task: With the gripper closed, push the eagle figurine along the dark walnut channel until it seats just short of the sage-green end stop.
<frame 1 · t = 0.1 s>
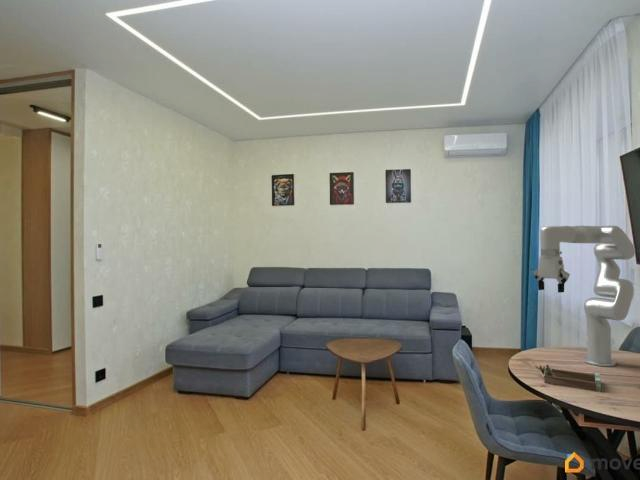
hand: (550, 291, 178), 37 cm above the table, tool pointing down, fingers open, 9 cm apart
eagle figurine: (548, 379, 170), on the table, touching walnut guide
walnut guide: (569, 382, 166), on the table
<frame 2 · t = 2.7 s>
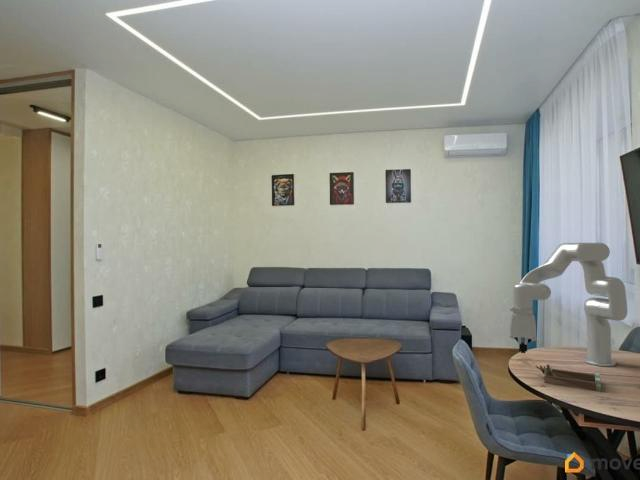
hand: (523, 352, 175), 10 cm above the table, tool pointing down, fingers closed
nothing on the table moved.
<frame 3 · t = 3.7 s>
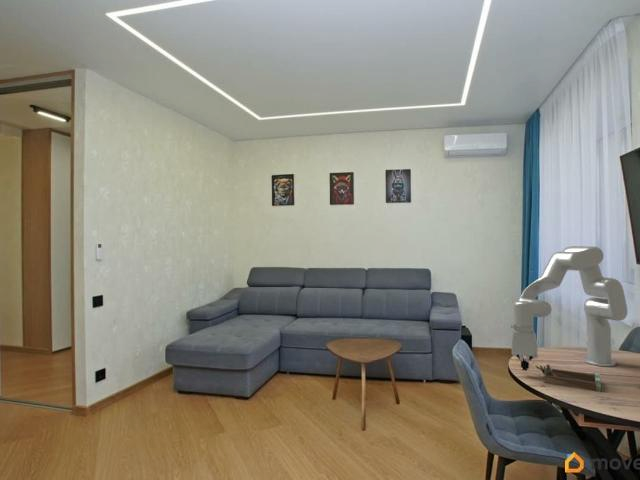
hand: (524, 369, 175), 3 cm above the table, tool pointing down, fingers closed
nothing on the table moved.
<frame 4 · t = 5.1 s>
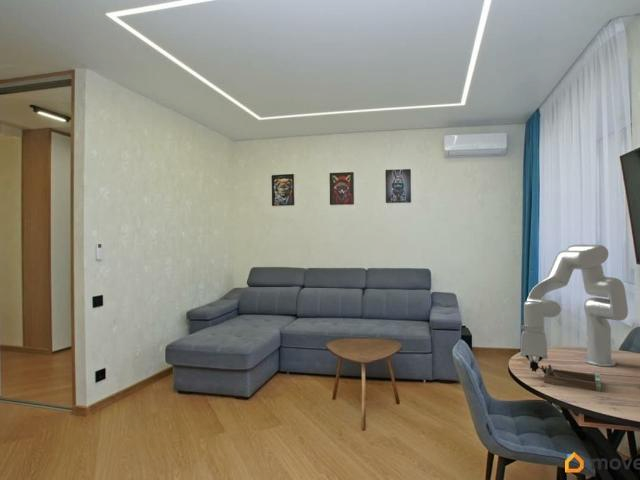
hand: (534, 370, 173), 3 cm above the table, tool pointing down, fingers closed
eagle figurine: (550, 379, 170), on the table, touching gripper, walnut guide
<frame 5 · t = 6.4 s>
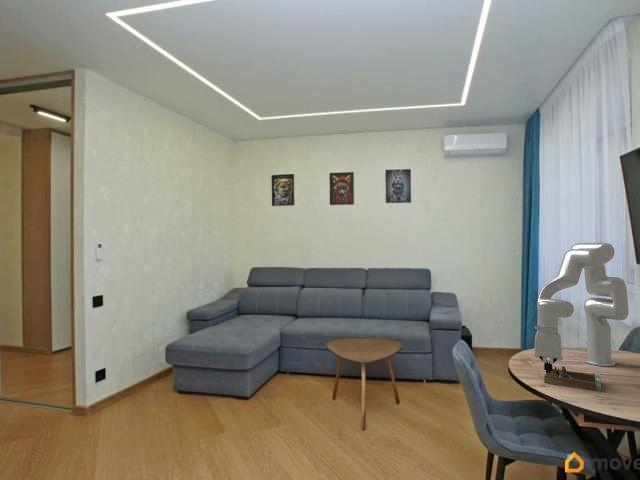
hand: (548, 372, 170), 3 cm above the table, tool pointing down, fingers closed
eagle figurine: (563, 381, 167), on the table, touching gripper, walnut guide
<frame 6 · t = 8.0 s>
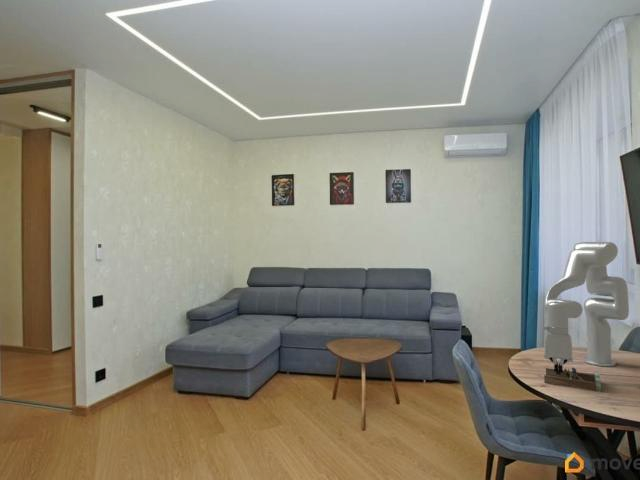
hand: (558, 373, 168), 3 cm above the table, tool pointing down, fingers closed
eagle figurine: (574, 382, 165), on the table, touching gripper, walnut guide
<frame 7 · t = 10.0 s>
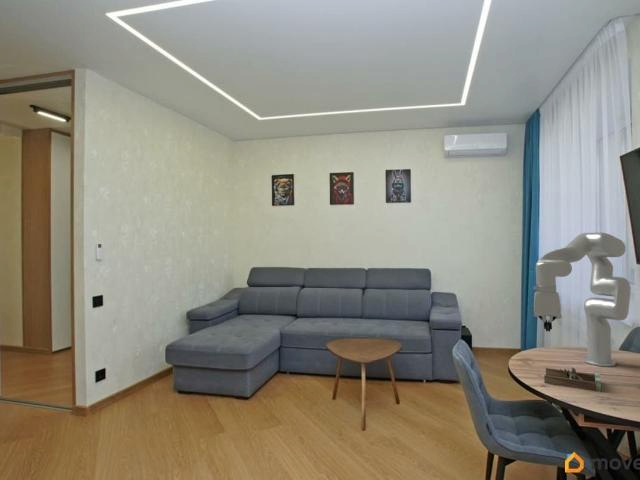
hand: (548, 330, 173), 20 cm above the table, tool pointing down, fingers closed
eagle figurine: (574, 382, 165), on the table, touching walnut guide
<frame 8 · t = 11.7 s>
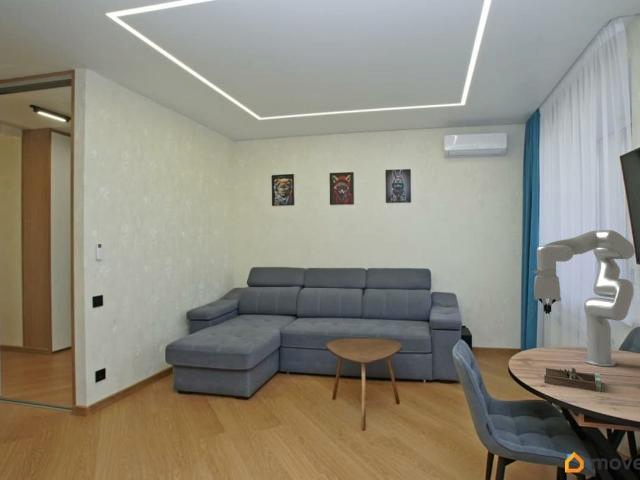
hand: (547, 313, 178), 27 cm above the table, tool pointing down, fingers closed
nothing on the table moved.
at the end: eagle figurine inside the target area (1.6 cm from its centre), on the table; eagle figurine tilted 2°; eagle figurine moved 9.7 cm from its start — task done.
